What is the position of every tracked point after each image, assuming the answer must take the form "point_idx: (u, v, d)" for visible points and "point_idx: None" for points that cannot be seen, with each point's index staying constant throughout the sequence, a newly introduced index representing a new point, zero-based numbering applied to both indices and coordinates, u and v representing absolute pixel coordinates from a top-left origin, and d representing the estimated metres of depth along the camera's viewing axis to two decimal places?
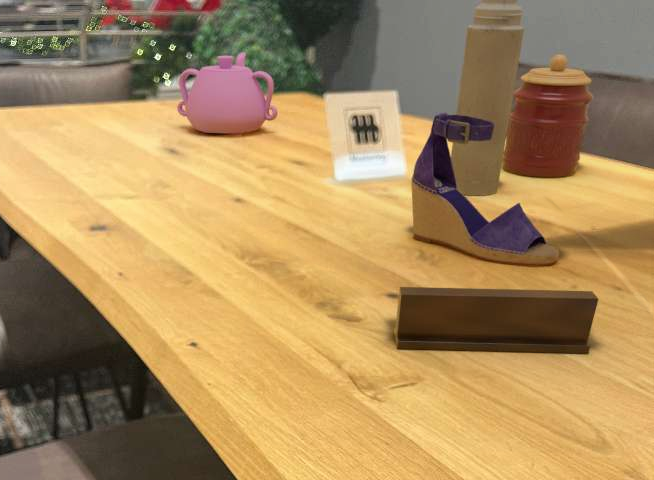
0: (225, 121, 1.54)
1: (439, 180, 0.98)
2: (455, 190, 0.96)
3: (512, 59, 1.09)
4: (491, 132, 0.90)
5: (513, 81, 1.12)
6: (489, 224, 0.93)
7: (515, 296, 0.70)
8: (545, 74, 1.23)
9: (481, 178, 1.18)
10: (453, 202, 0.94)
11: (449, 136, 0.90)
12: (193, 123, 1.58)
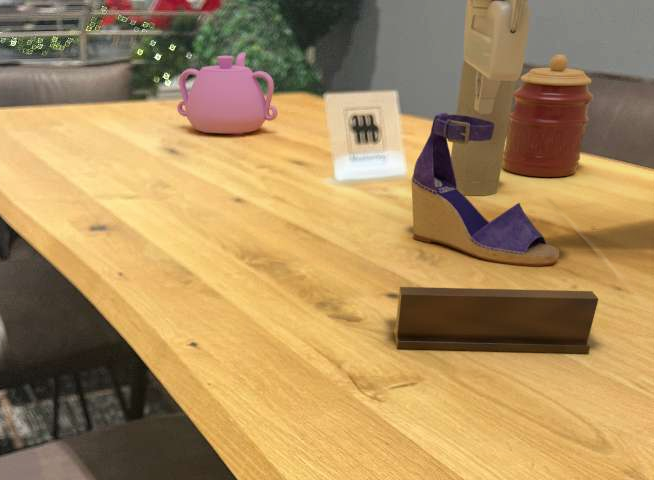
0: (225, 121, 1.54)
1: (439, 180, 0.98)
2: (455, 190, 0.96)
3: None
4: (491, 132, 0.90)
5: (513, 81, 1.12)
6: (489, 224, 0.93)
7: (515, 296, 0.70)
8: (545, 74, 1.23)
9: (481, 178, 1.18)
10: (453, 202, 0.94)
11: (449, 136, 0.90)
12: (193, 123, 1.58)
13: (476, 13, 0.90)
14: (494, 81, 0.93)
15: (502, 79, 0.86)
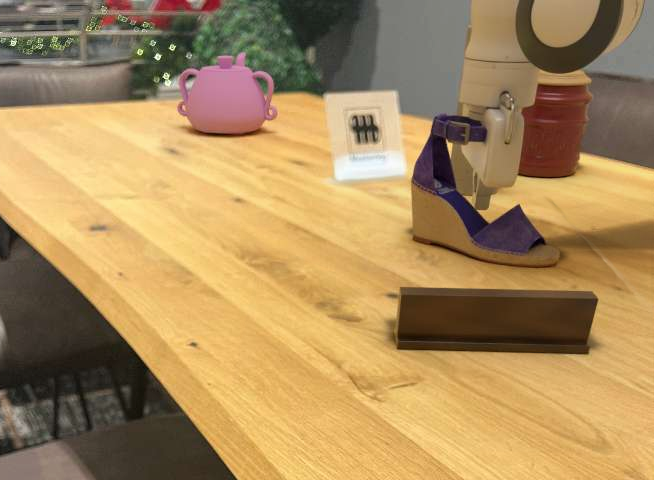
0: (225, 121, 1.54)
1: (438, 181, 0.97)
2: (455, 191, 0.96)
3: None
4: None
5: None
6: (489, 225, 0.92)
7: (515, 296, 0.70)
8: (545, 74, 1.23)
9: None
10: (453, 203, 0.94)
11: (449, 137, 0.90)
12: (193, 123, 1.58)
13: (472, 118, 0.91)
14: None
15: (497, 186, 0.88)
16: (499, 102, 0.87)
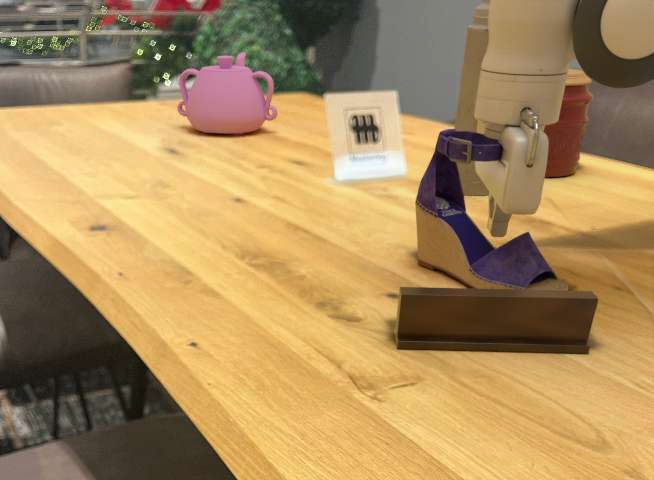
0: (225, 121, 1.54)
1: (447, 202, 0.89)
2: (462, 214, 0.88)
3: None
4: (498, 152, 0.80)
5: None
6: (490, 254, 0.83)
7: (515, 296, 0.70)
8: None
9: None
10: (455, 227, 0.86)
11: (450, 155, 0.82)
12: (193, 123, 1.58)
13: (489, 136, 0.82)
14: None
15: (517, 213, 0.78)
16: (520, 119, 0.78)
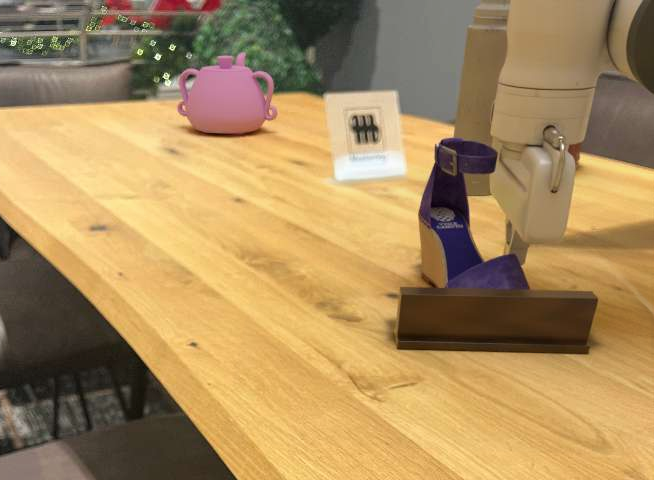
0: (225, 121, 1.54)
1: (455, 214, 0.85)
2: (462, 228, 0.83)
3: None
4: (487, 165, 0.75)
5: None
6: (465, 272, 0.78)
7: (515, 296, 0.70)
8: None
9: (481, 178, 1.18)
10: (444, 241, 0.82)
11: (440, 164, 0.78)
12: (193, 123, 1.58)
13: (507, 156, 0.74)
14: None
15: (540, 243, 0.70)
16: (542, 139, 0.70)
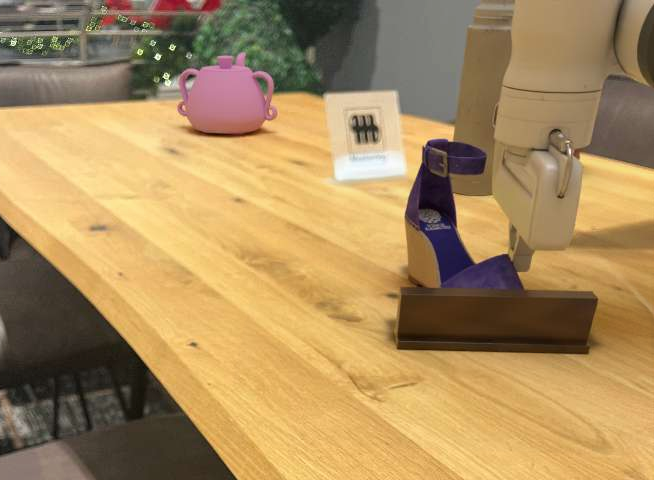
0: (225, 121, 1.54)
1: (441, 215, 0.84)
2: (450, 229, 0.83)
3: None
4: (477, 166, 0.75)
5: None
6: (460, 274, 0.78)
7: (515, 296, 0.70)
8: None
9: (481, 178, 1.18)
10: (434, 242, 0.81)
11: (429, 166, 0.77)
12: (193, 123, 1.58)
13: (512, 160, 0.72)
14: None
15: (546, 249, 0.69)
16: (548, 143, 0.68)
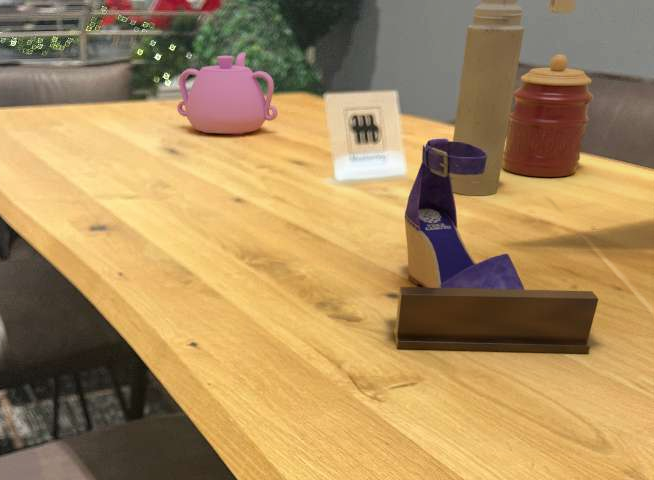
0: (225, 121, 1.54)
1: (441, 215, 0.84)
2: (450, 229, 0.83)
3: (512, 59, 1.09)
4: (478, 166, 0.75)
5: (513, 81, 1.12)
6: (460, 273, 0.78)
7: (515, 296, 0.70)
8: (545, 74, 1.23)
9: (481, 178, 1.18)
10: (434, 242, 0.81)
11: (430, 165, 0.77)
12: (193, 123, 1.58)
13: None
14: None
15: None
16: None
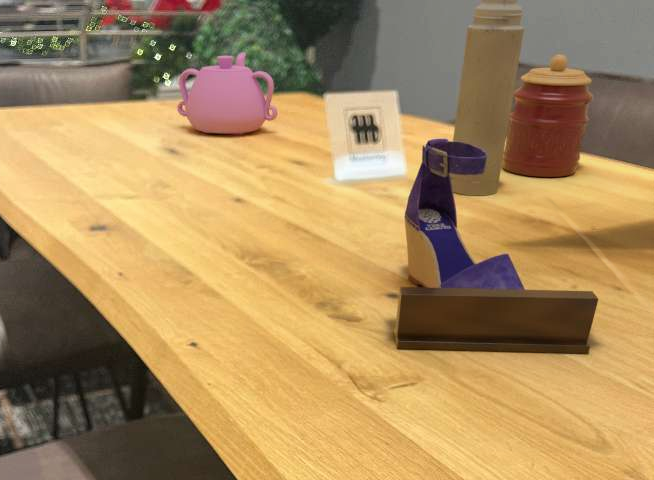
0: (225, 121, 1.54)
1: (441, 215, 0.84)
2: (450, 229, 0.83)
3: (512, 59, 1.09)
4: (477, 166, 0.75)
5: (513, 81, 1.12)
6: (460, 273, 0.78)
7: (515, 296, 0.70)
8: (545, 74, 1.23)
9: (481, 178, 1.18)
10: (434, 242, 0.81)
11: (429, 165, 0.77)
12: (193, 123, 1.58)
13: None
14: None
15: None
16: None
